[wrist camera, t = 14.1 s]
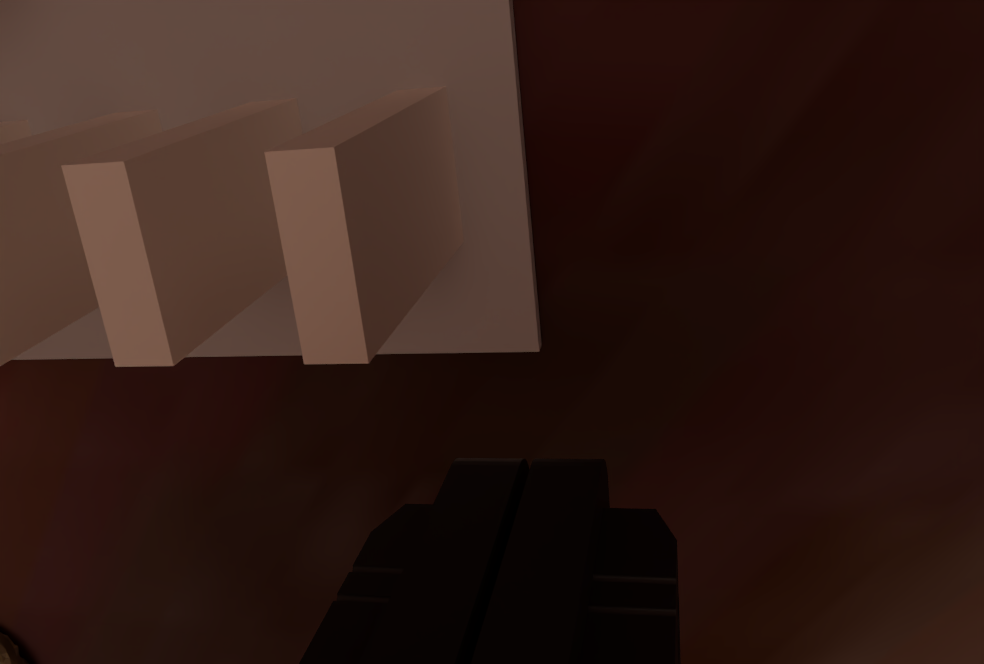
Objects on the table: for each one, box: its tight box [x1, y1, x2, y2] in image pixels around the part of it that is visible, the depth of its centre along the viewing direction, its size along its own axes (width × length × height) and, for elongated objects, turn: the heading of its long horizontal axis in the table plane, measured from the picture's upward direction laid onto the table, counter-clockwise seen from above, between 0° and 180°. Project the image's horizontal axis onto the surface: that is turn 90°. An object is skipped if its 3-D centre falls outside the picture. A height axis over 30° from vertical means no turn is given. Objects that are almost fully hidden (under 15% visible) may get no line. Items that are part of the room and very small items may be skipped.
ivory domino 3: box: [264, 86, 464, 364], centre depth 25 cm, size 5×2×10 cm, turn 5°
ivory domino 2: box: [61, 98, 303, 367], centre depth 26 cm, size 5×2×10 cm, turn 6°
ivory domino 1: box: [0, 109, 162, 366], centre depth 27 cm, size 5×2×10 cm, turn 6°
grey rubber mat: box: [0, 0, 542, 360], centre depth 33 cm, size 13×34×1 cm, turn 96°
